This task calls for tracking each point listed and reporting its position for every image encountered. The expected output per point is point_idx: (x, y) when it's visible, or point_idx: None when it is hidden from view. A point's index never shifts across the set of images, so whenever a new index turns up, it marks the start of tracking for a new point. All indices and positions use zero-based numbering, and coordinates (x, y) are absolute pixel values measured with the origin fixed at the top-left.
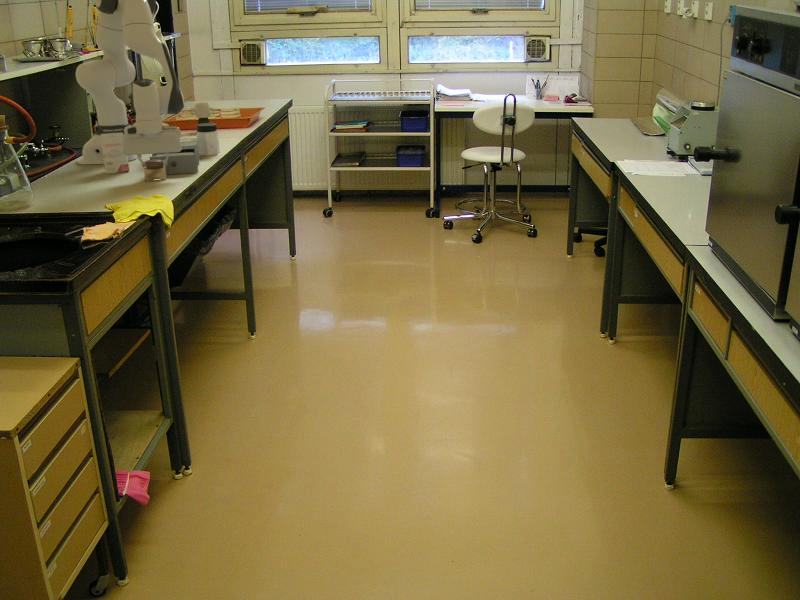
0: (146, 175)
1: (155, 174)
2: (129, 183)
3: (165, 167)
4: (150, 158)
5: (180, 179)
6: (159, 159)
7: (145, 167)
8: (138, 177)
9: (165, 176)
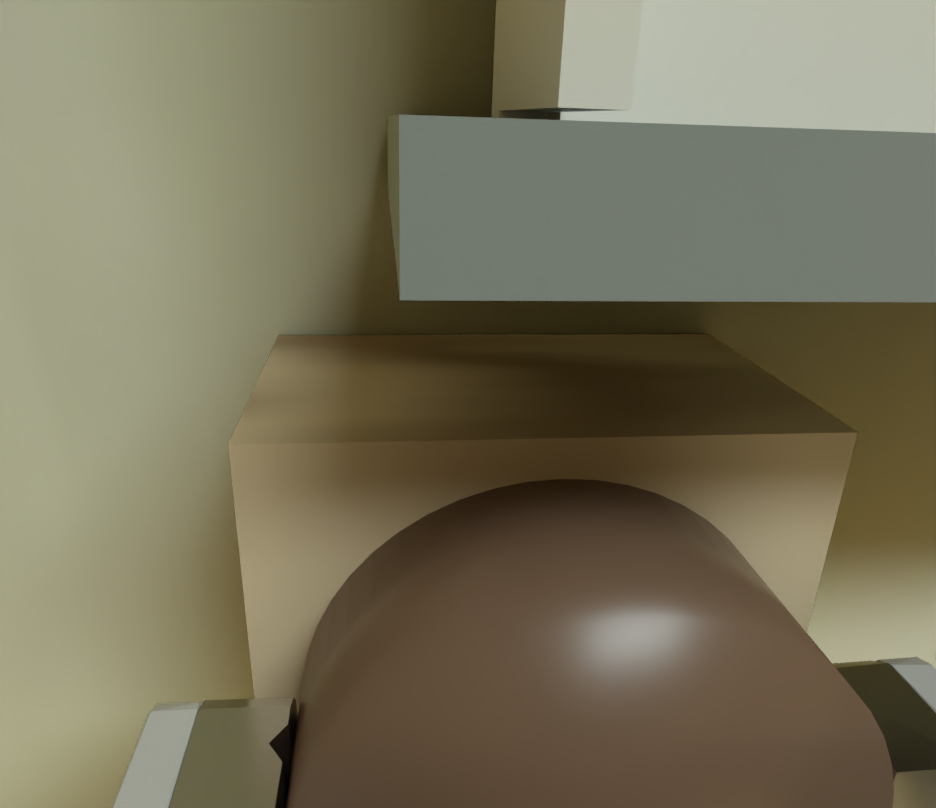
0: None
1: None
2: (26, 773)
3: (812, 415)
4: (441, 285)
5: None
6: (814, 692)
7: (265, 621)
8: (70, 282)
9: None
